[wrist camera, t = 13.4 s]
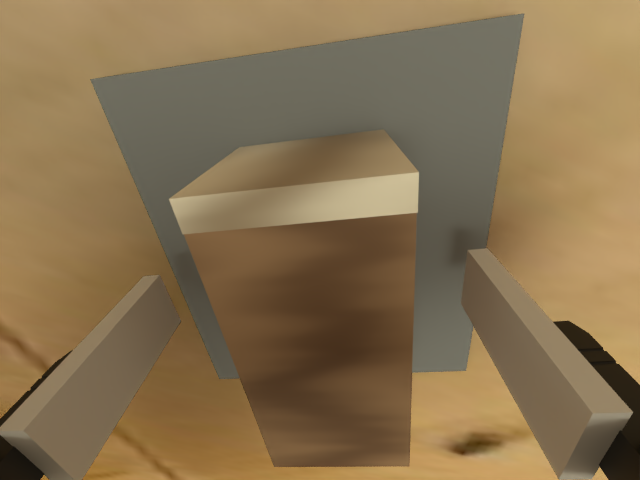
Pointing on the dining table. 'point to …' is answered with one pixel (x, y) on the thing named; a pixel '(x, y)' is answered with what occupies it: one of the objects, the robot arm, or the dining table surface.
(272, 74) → the mat
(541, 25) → the dining table surface
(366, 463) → the block
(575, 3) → the dining table surface
